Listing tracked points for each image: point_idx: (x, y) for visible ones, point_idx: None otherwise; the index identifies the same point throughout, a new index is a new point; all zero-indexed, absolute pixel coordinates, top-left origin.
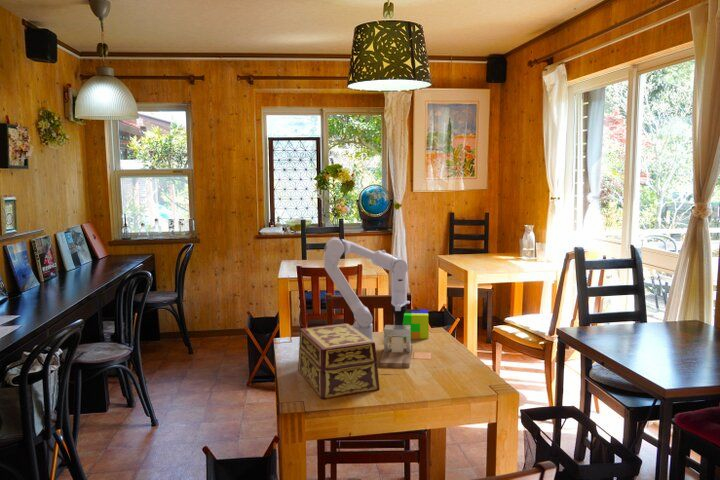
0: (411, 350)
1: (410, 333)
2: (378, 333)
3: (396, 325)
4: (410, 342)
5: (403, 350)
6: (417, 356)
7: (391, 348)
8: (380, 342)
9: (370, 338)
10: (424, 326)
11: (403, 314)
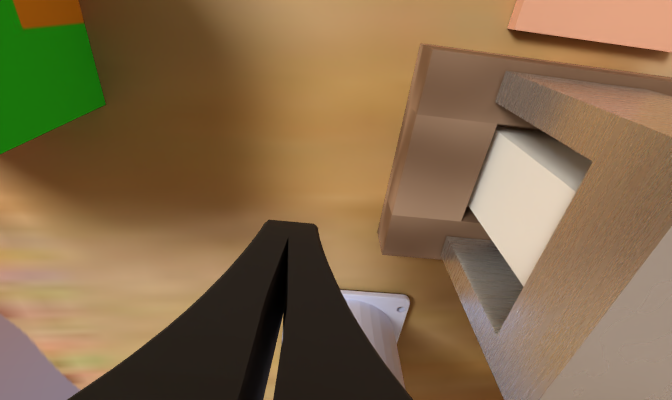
0: (568, 67)
1: (643, 116)
2: (5, 267)
3: (604, 346)
4: (578, 89)
5: (497, 131)
6: (641, 10)
7: (459, 217)
8: (214, 257)
9: (387, 365)
10: None
11: (387, 379)
